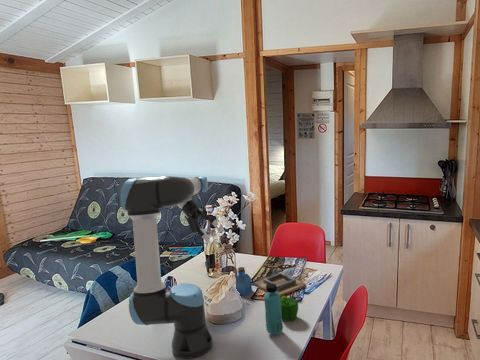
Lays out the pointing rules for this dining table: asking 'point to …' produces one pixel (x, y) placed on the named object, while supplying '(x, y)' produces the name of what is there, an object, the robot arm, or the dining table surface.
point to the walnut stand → (281, 283)
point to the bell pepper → (289, 308)
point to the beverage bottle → (273, 310)
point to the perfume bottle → (243, 282)
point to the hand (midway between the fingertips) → (215, 235)
